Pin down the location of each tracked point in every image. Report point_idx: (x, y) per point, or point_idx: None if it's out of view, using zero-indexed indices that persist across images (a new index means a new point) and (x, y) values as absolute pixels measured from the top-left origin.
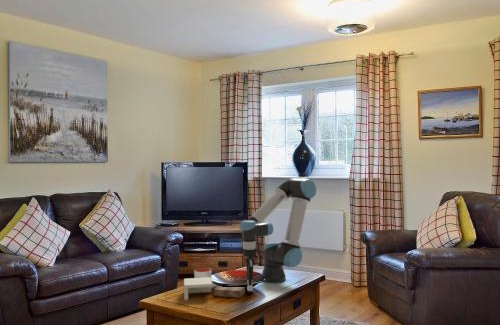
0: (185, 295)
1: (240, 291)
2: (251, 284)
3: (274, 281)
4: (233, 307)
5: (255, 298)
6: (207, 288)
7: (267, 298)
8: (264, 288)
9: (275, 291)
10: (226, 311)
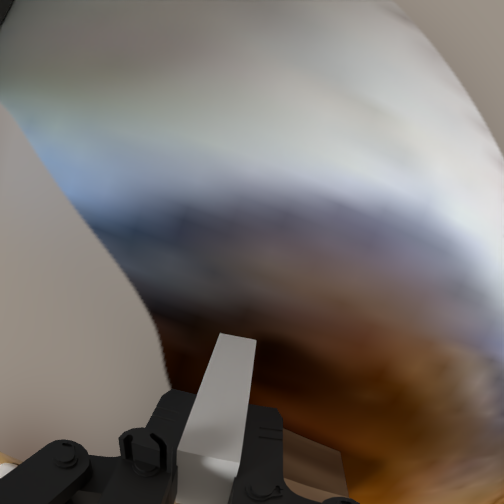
0: None
1: (345, 491)
2: (280, 420)
3: (4, 5)
4: (480, 481)
5: (441, 346)
6: None
7: (495, 229)
8: (107, 114)
9: (283, 24)
10: (493, 496)
